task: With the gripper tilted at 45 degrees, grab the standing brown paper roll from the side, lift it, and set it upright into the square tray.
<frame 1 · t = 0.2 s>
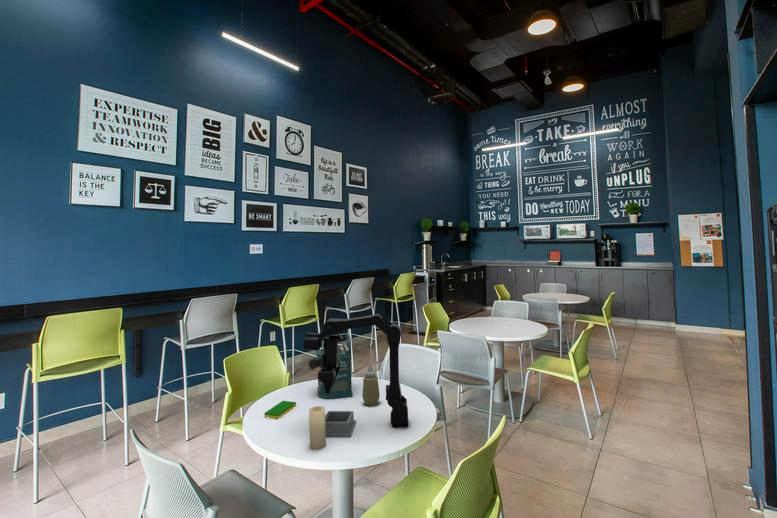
hand: (329, 389, 144), 14 cm above the table, tool pointing down, fingers open, 9 cm apart
squeeze bottle: (371, 404, 164), on the table
square tray: (338, 429, 140), on the table
paper roll: (317, 445, 128), on the table
dish sponge: (280, 413, 158), on the table
dark green canister: (334, 393, 179), on the table
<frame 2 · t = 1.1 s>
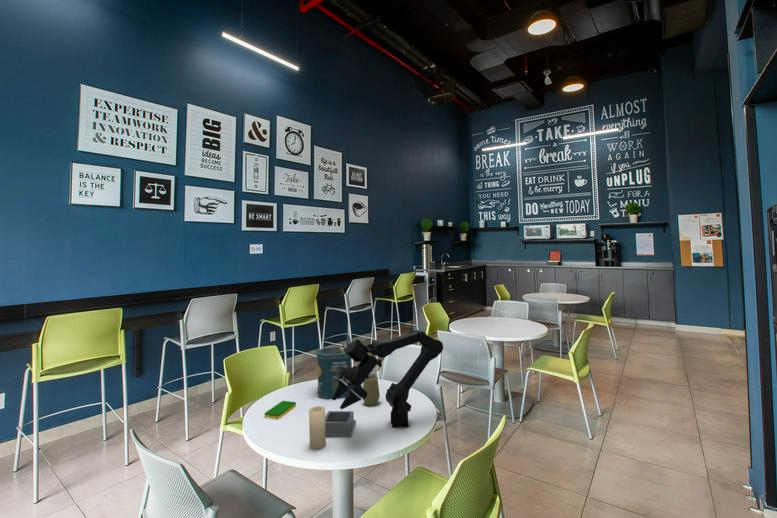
hand: (336, 404, 132), 13 cm above the table, tool tilted 45°, fingers open, 9 cm apart
nothing on the table moved.
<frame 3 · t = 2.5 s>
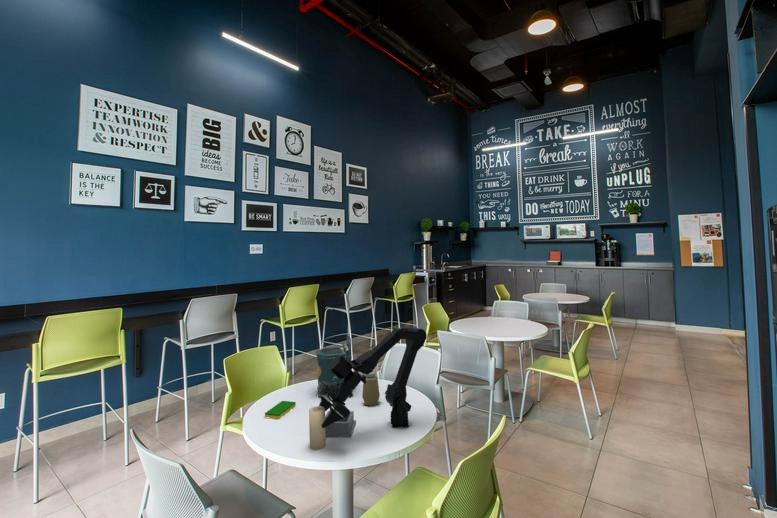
hand: (318, 421, 128), 8 cm above the table, tool tilted 45°, fingers open, 9 cm apart
nothing on the table moved.
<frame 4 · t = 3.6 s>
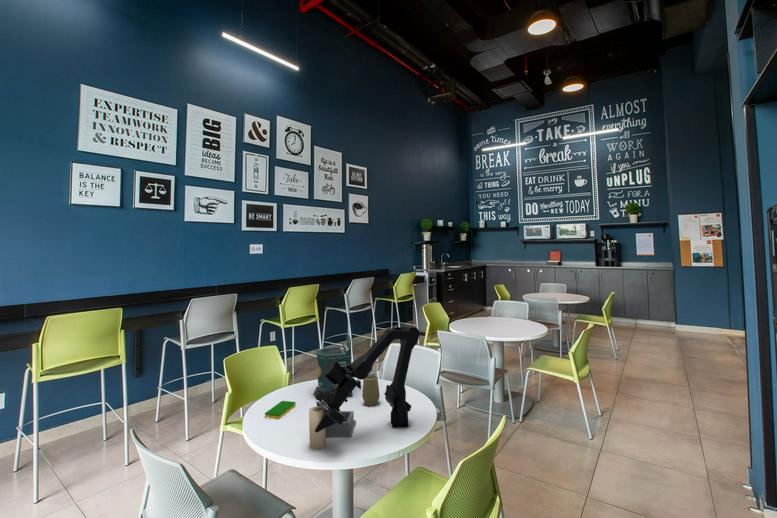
hand: (313, 428, 128), 7 cm above the table, tool tilted 45°, fingers closed on paper roll, 6 cm apart
paper roll: (317, 445, 128), on the table, touching gripper
everything else where it was.
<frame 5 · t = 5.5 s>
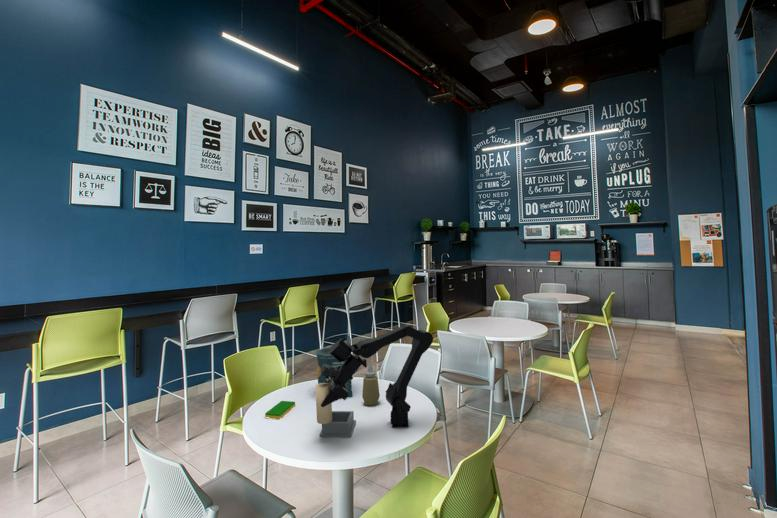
hand: (320, 403, 132), 14 cm above the table, tool tilted 45°, fingers closed on paper roll, 6 cm apart
paper roll: (324, 420, 133), point 7 cm above the table, touching gripper
everything else where it was.
when the fingers open (9 cm above the table, at t = 7.6 s): paper roll drops 1 cm, resting on square tray.
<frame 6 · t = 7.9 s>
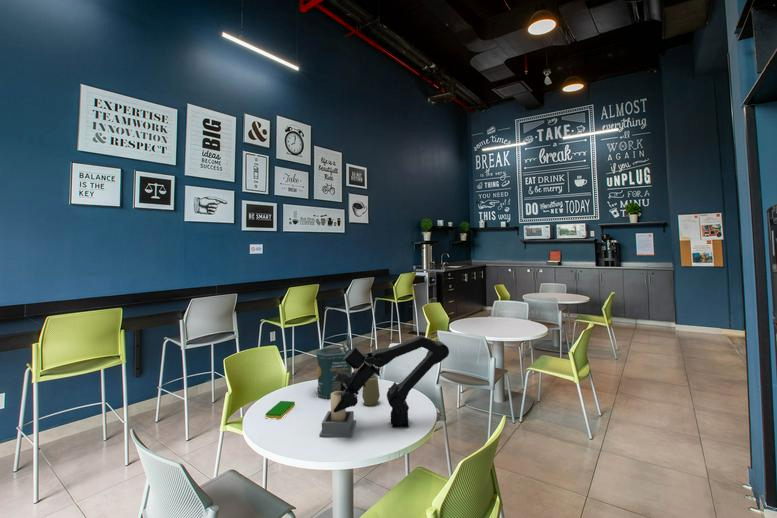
hand: (334, 406, 140), 9 cm above the table, tool tilted 45°, fingers open, 9 cm apart
paper roll: (338, 426, 140), point 1 cm above the table, touching square tray
everything else where it was.
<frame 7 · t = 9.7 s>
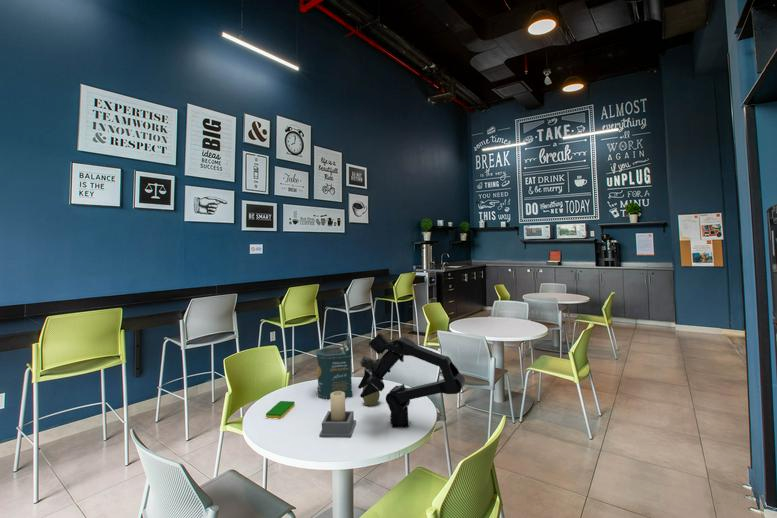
hand: (359, 392, 143), 13 cm above the table, tool tilted 45°, fingers open, 9 cm apart
nothing on the table moved.
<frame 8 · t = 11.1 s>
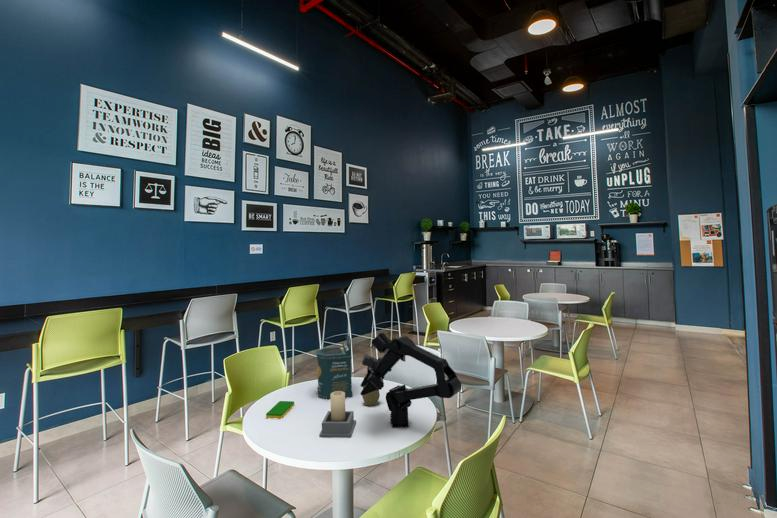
hand: (361, 390, 144), 14 cm above the table, tool tilted 45°, fingers open, 9 cm apart
nothing on the table moved.
at the end: paper roll 0.0 cm off-centre on the square tray, point 1.0 cm above the square tray's base; paper roll tilted 0°; the gripper is holding nothing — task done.
